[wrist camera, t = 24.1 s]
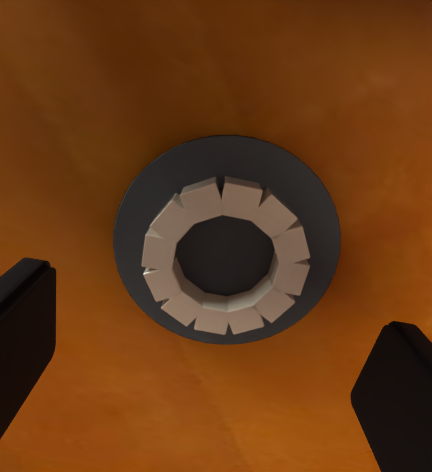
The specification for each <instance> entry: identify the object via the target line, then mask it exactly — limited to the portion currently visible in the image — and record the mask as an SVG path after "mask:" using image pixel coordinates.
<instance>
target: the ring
mask: <svg viewBox="0 0 432 472" xmlns="http://www.w3.org/2000/svg"><path fill="white" fill-rule="evenodd" d="M221 215H224V216H229V217H234V218H240V219H245V220H250V221H252V222H253V223H254V224H255V225H256V226H257V227H259V228H260V229H261V230H262V231H263V232H264V233H265V234H267V235H268V236H269V237H270V238H271V241H272V245H273V248H274V255H273V258H272V262H271V265H270V269H269V272H268V274H267V275H266V276H265V277H264V278H263V279H262V280H261V281H259V282H258V283H257V284H256V285H255V286H254V287H253V288H252V289H251V290H248V291H245V292H241V293H238V294H234V295H231V296H223V295H217V294H212V293H206V292H204V291H202V290H201V289H200V288H198V287H197V286H196V285H194V284H193V283H192V282H190V281H189V280H188V279H186V278H185V276H184V274H183V272H182V269H181V267H180V264H179V262H178V260H177V257H176V255H177V249H178V243H179V241H180V239H181V238H182V237H183V236H184V235H185V234H186V233H187V232H188V231H189V230H190V228H191V227H192V226H193V225H194V224H196V223H199V222H202V221H205V220H208V219H212V218H215V217H218V216H221ZM309 258H310V253H309V249H308V245H307V241H306V237H305V234H304V230H303V226H302V225H301V223H300V222H299V220H298V218H297V216H296V215H295V213H294V212H293V211H292V209H291V208H290V207H289V206H288V205H287V204H286V203H284V202H283V201H282V200H281V199H280V198H279V197H278V196H277V195H276V194H275V193H274V192H272V191H271V190H270V189H269V188H268V187H266V188H265V189H264V190H262V188H261V186H260V184H259V183H257V182H252V181H247V180H242V179H237V178H233V177H228V176H225V177H224V181H223V186H222V191H221V189H220V186H219V183H218V180H217V177H213V178H210V179H207V180H204V181H201V182H198V183H195V184H192V185H189V186H186V187H184V188H183V189H182V191H181V193H180V195H179V194H177V193H175V194H174V195H173V196H172V197H171V198H170V200H169V201H168V202H167V203H166V204H165V206H164V207H163V208H162V209H161V210H160V211H159V213H158V214H157V215H156V216H155V218H154V219H153V221H152V222H151V224H150V228H149V230H148V231H147V233H146V235H145V241H144V249H143V256H142V264H141V266H142V267H146V269H145V271H144V273H143V275H144V278H145V280H146V282H147V284H148V286H149V288H150V290H151V292H152V295H153V297H154V299H155V301H156V302H158V301H162V300H163V303H162V307H161V309H162V310H164V311H165V312H167V313H168V314H169V315H171V316H172V317H174V318H175V319H176V320H178V321H179V322H181V323H182V324H183V325H185V326H186V327H187V326H188V325H189V324H190V323H191V322H192V321H193V320H194V319H195V323H194V329H195V330H199V331H205V332H211V333H216V334H222V335H225V334H226V332H227V328H228V324H229V325H230V327H231V330H232V333H233V334H234V335H235V334H239V333H242V332H246V331H250V330H254V329H258V328H261V327H264V321H263V317H264V318H266V319H267V320H268V321H269V322H271V323H272V322H274V321H275V320H276V319H277V318H278V317H279V316H281V315H282V314H283V313H284V312H285V311H286V310H287V309H289V308H290V307H291V306H292V305H293V304H294V303H295V300H294V297H293V295H298V296H300V294H301V291H302V288H303V286H304V283H305V280H306V277H307V274H308V271H309V268H310V265H309V263H308V261H307V259H309Z"/></svg>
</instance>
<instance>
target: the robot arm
mask: <svg viewBox="0 0 432 472" xmlns="http://www.w3.org/2000/svg"><path fill="white" fill-rule="evenodd" d="M55 345H56V269H55V268H53V267H50V263H49V262H48V261H44V260H38V259H32V258H23V259H22V260H20V261H19V262H18V263H17V264H16V265H14V266H13V267H12V268H11V269H9V270H8V271H7V272H6V273H5V274H3V275H2V276H1V277H0V439H1V437H2V436H3V434H4V433H5V431H6V430H7V428H8V426H9V425H10V423H11V422H12V420H13V419H14V417H15V415H16V414H17V412H18V411H19V409H20V408H21V406H22V404H23V403H24V401H25V400H26V398H27V397H28V395H29V393H30V392H31V390H32V389H33V387H34V386H35V384H36V382H37V381H38V379H39V378H40V376H41V375H42V373H43V371H44V370H45V368H46V367H47V365H48V363H49V362H50V360H51V359H52V356H53V354H54V351H55ZM351 403H352V406H353V409H354V411H355V413H356V415H357V418H358V420H359V422H360V424H361V427H362V429H363V431H364V434H365V436H366V438H367V440H368V443H369V445H370V447H371V449H372V452H373V454H374V456H375V459H376V461H377V463H378V465H379V468H380V470H381V472H432V343H431V342H430V341H429V339H428V338H427V337H426V336H425V335H424V334H423V333H422V331H421V330H420V329H419V328H418V327H417V326H416V325H413V324H409V323H403V322H397V321H392V322H391V323H389V325H385V326H384V327H383V328H382V330H381V332H380V334H379V336H378V338H377V340H376V342H375V345H374V347H373V349H372V351H371V353H370V355H369V357H368V359H367V361H366V363H365V365H364V367H363V369H362V371H361V373H360V375H359V377H358V379H357V381H356V383H355V385H354V387H353V389H352V392H351Z"/></svg>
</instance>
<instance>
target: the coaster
mask: <svg viewBox="0 0 432 472" xmlns="http://www.w3.org/2000/svg"><path fill="white" fill-rule="evenodd" d="M225 176H228V177H233V178H237V179H242V180H247V181H252V182H257V183H259V184H260V186H261V188H262V190H264V189H265V188H266V187H268V188H269V189H270V190H271V191H272V192H274V193H275V194H276V195H277V196H278V197H279V198H280V199H281V200H282V201H283V202H284V203H286V204H287V205H288V206H289V207H290V208H291V209H292V211H293V212H294V213H295V215H296V216H297V218H298V220H299V222H300V223H301V225H302V226H303V230H304V234H305V237H306V241H307V245H308V249H309V253H310V258H309V259H307V261H308V263H309V265H310V268H309V271H308V274H307V277H306V280H305V283H304V286H303V288H302V291H301V294H300V296H298V295H293V297H294V300H295V303H294V304H293V305H292V306H291V307H290V308H289V309H287V310H286V311H285V312H284V313H283V314H282V315H281V316H279V317H278V318H277V319H276V320H275V321H274V322H272V323H271V322H269V321H268V320H267V319H266V318H264V317H263V321H264V327H261V328H258V329H254V330H250V331H246V332H242V333H239V334H235V335H234V334H233V333H232V330H231V327H230V325H229V324H228V328H227V332H226V334H225V335H222V334H216V333H211V332H205V331H199V330H195V329H194V323H195V319H194V320H193V321H192V322H191V323H190V324H189V325H188V326H187V327H186V326H185V325H183V324H182V323H181V322H179V321H178V320H176V319H175V318H174V317H172V316H171V315H169V314H168V313H167V312H165V311H164V310H162V309H161V307H162V303H163V300H162V301H158V302H156V301H155V299H154V297H153V295H152V292H151V290H150V288H149V286H148V284H147V282H146V280H145V278H144V275H143V273H144V271H145V269H146V267H142V266H141V264H142V256H143V249H144V241H145V235H146V233H147V231H148V230H149V228H150V224H151V222H152V221H153V219H154V218H155V216H156V215H157V214H158V213H159V211H160V210H161V209H162V208H163V207H164V206H165V204H166V203H167V202H168V201H169V200H170V198H171V197H172V196H173V195H174V194H175V193H177V194H179V195H180V193H181V191H182V189H183V188H184V187H186V186H189V185H192V184H195V183H198V182H201V181H204V180H207V179H210V178H213V177H217V180H218V183H219V186H220V189H221V191H222V186H223V181H224V177H225ZM113 247H114V255H115V261H116V264H117V268H118V272H119V274H120V277H121V279H122V281H123V284H124V286H125V287H126V289H127V291H128V292H129V294H130V296H131V297H132V298H133V300H134V301H135V302H136V304H137V305H138V306H139V307H140V308H141V309H142V310H143V311H144V312H145V313H146V314H147V315H148V316H149V317H150V318H152V319H153V320H154V321H155V322H157V323H158V324H160V325H161V326H163V327H165V328H166V329H168V330H170V331H172V332H174V333H176V334H178V335H180V336H183V337H186V338H189V339H192V340H195V341H200V342H204V343H212V344H242V343H248V342H253V341H258V340H261V339H264V338H267V337H270V336H273V335H275V334H277V333H279V332H282V331H283V330H285V329H287V328H288V327H290V326H292V325H294V324H295V323H296V322H298V321H299V320H300V319H302V318H303V317H304V316H305V315H306V314H307V313H308V312H309V311H310V310H311V309H312V308H313V307H314V306H315V305H316V304H317V303H318V301H319V300H320V299H321V298H322V296H323V295H324V293H325V291H326V290H327V288H328V287H329V284H330V282H331V280H332V278H333V276H334V273H335V270H336V267H337V263H338V259H339V252H340V227H339V219H338V216H337V213H336V209H335V206H334V203H333V201H332V199H331V197H330V195H329V193H328V191H327V189H326V188H325V186H324V185H323V183H322V182H321V180H320V179H319V178H318V177H317V176H316V174H315V173H314V172H313V171H312V170H311V169H310V168H309V167H308V166H307V165H306V164H304V163H303V162H302V161H301V160H300V159H298V158H297V157H296V156H294V155H292V154H291V153H289V152H288V151H286V150H284V149H283V148H281V147H278V146H276V145H274V144H272V143H269V142H267V141H263V140H260V139H256V138H253V137H246V136H239V135H215V136H208V137H202V138H198V139H195V140H191V141H187V142H185V143H183V144H180V145H178V146H176V147H174V148H172V149H170V150H168V151H167V152H165V153H163V154H162V155H160V156H159V157H157V158H156V159H155V160H154V161H152V162H151V163H150V164H149V165H148V166H146V167H145V168H144V169H143V170H142V172H141V173H140V174H139V175H138V176H137V177H136V178H135V179H134V181H133V182H132V184H131V185H130V187H129V188H128V190H127V191H126V193H125V195H124V197H123V199H122V201H121V204H120V206H119V209H118V213H117V216H116V220H115V226H114V235H113ZM273 255H274V248H273V245H272V241H271V238H270V237H269V236H268V235H267V234H265V233H264V232H263V231H262V230H261V229H260V228H259V227H257V226H256V225H255V224H254V223H253V222H252V221H250V220H245V219H240V218H234V217H229V216H224V215H221V216H218V217H215V218H212V219H208V220H205V221H202V222H199V223H196V224H194V225H193V226H192V227H191V228H190V230H189V231H188V232H187V233H186V234H185V235H184V236H183V237H182V238H181V239H180V241H179V243H178V249H177V255H176V257H177V260H178V262H179V264H180V267H181V269H182V272H183V274H184V276H185V278H186V279H188V280H189V281H190V282H192V283H193V284H194V285H196V286H197V287H198V288H200V289H201V290H202V291H204V292H206V293H212V294H217V295H223V296H231V295H234V294H238V293H241V292H245V291H248V290H251V289H252V288H253V287H254V286H255V285H256V284H257V283H258V282H259V281H261V280H262V279H263V278H264V277H265V276H266V275H267V274H268V272H269V269H270V265H271V262H272V258H273Z"/></svg>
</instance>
